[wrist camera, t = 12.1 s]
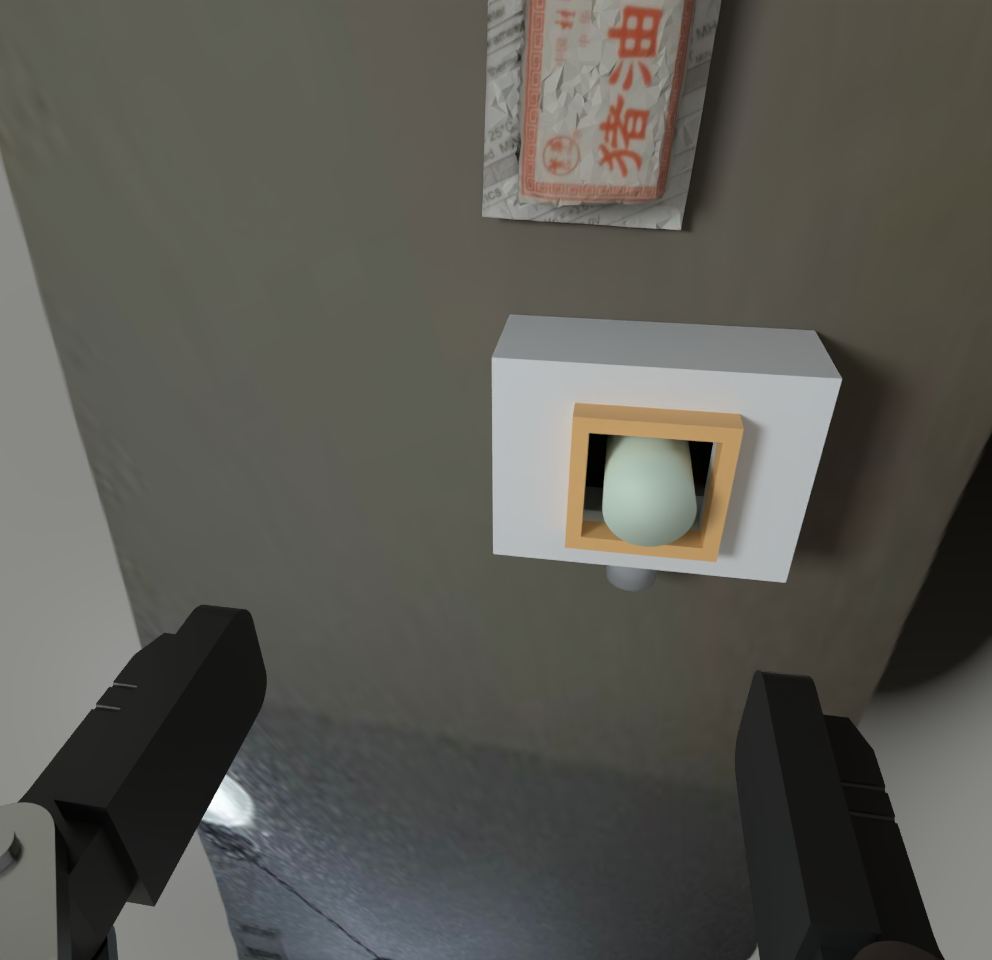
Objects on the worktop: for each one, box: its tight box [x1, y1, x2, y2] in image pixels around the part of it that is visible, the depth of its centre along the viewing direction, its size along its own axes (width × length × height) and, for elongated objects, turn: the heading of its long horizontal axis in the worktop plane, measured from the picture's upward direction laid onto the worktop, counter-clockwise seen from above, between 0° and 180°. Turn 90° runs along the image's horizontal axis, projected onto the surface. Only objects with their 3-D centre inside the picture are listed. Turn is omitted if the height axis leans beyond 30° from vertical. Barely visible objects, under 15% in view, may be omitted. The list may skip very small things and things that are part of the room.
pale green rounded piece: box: [602, 434, 697, 547], centre depth 38 cm, size 4×4×9 cm
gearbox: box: [492, 314, 842, 591], centre depth 40 cm, size 15×16×8 cm
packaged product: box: [482, 0, 721, 230], centre depth 30 cm, size 18×5×10 cm
